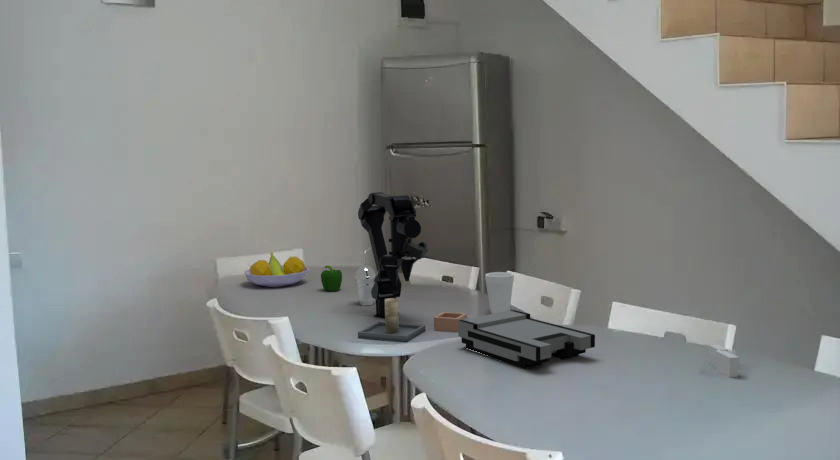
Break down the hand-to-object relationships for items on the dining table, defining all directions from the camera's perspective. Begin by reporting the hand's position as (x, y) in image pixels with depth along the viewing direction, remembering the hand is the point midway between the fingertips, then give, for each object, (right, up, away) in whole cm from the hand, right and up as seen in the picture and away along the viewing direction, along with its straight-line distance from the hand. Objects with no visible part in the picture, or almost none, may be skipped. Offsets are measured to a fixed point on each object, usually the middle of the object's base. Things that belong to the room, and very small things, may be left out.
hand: (401, 283), depth 257 cm
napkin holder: (+82, -18, -56) cm, 101 cm away
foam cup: (+33, -11, +13) cm, 37 cm away
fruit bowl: (-53, -6, +79) cm, 95 cm away
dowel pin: (-2, -14, -13) cm, 19 cm away
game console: (+34, -17, -37) cm, 53 cm away
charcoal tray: (-2, -15, -12) cm, 19 cm away
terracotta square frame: (+16, -13, -6) cm, 21 cm away
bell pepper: (-28, -7, +61) cm, 67 cm away
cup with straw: (-13, -10, +33) cm, 37 cm away
